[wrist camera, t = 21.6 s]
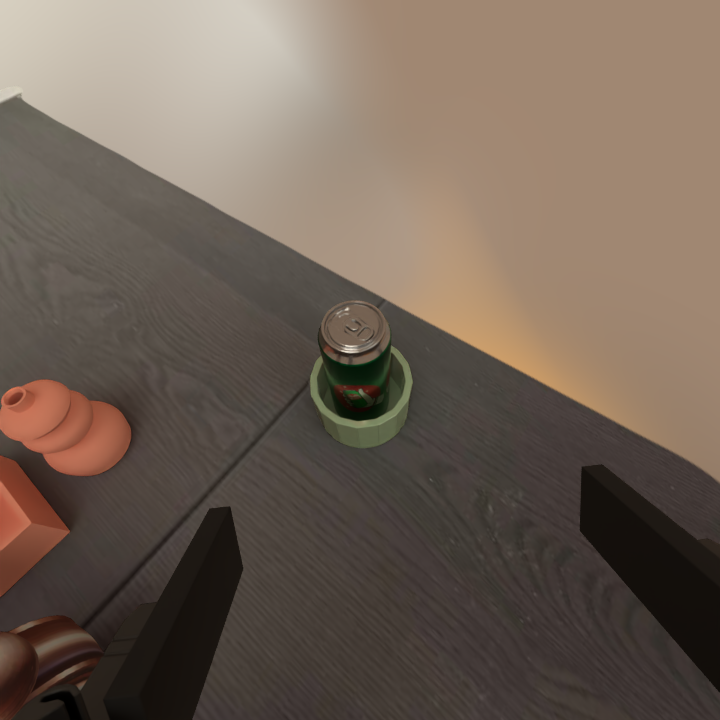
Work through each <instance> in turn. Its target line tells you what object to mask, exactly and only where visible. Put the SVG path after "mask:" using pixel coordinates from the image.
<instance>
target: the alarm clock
mask: <svg viewBox="0 0 720 720" xmlns="http://www.w3.org/2000/svg"><path fill="white" fill-rule="evenodd" d="M103 656H104V653H103V651H102V650H101V648H100V647H99V645H98V644H97V642H96V641H95V640H94V639H93V637H92V636H91V635H90V634H88V633H87V632H86V631H85V630H83V629H82V628H81V627H80V626H78V625H77V624H76V623H75V622H74V621H73V620H72V619H70V618H68V617H66V616H58V615H56V616H49V617H44V618H41V619H38V620H34V621H31V622H29V623H26V624H24V625H22V626H19V627H17V628H15V629H13V630H11V631H9V632H0V720H11V719H12V718H13V717H14V716H15V715H16V714H17V713H18V712H19V711H20V709H21V708H22V707H23V706H24V705H25V704H27V703H28V702H29V701H31V700H32V699H33V698H35V697H36V696H37V695H39V694H40V693H42V692H44V691H46V690H48V689H50V688H52V687H54V686H58V685H63V684H71V685H76V686H77V687H78V689H79V690H80V691H81V689H82V688H83V686H84V684H85V683H86V681H87V680H88V678H89V676H90V675H91V673H92V671H93V670H94V668H95V667H96V665H97V663H98V662H99V660H100V659H101V657H103Z"/></svg>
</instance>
